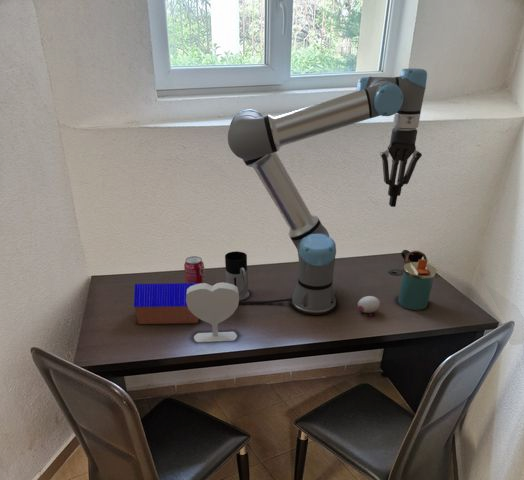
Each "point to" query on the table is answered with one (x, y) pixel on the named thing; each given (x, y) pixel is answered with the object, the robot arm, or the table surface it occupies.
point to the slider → (422, 267)
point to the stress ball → (368, 304)
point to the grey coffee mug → (237, 272)
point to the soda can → (194, 270)
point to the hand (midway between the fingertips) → (392, 205)
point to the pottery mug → (412, 256)
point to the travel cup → (415, 286)
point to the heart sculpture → (213, 308)
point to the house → (163, 303)
